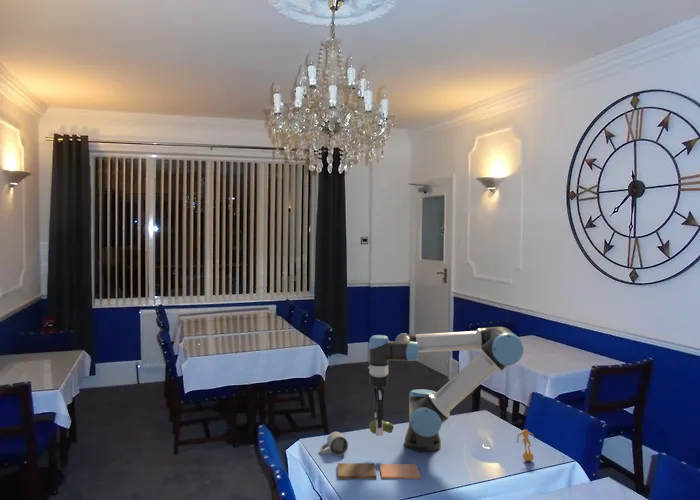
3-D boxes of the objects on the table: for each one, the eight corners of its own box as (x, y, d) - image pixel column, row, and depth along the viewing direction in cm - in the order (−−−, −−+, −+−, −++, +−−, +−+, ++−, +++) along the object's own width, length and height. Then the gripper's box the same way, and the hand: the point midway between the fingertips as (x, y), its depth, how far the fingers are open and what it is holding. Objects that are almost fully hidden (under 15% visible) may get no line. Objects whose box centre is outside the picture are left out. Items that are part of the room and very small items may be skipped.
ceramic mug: (343, 446, 217) (343, 428, 216) (348, 454, 209) (348, 436, 209) (318, 449, 214) (318, 431, 214) (322, 458, 206) (322, 439, 206)
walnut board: (374, 466, 199) (374, 463, 199) (376, 478, 189) (376, 475, 189) (337, 466, 199) (337, 463, 199) (337, 478, 189) (338, 475, 189)
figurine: (520, 464, 202) (521, 434, 202) (513, 457, 208) (514, 428, 208) (540, 462, 204) (541, 432, 203) (532, 456, 210) (533, 426, 209)
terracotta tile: (415, 466, 200) (415, 464, 199) (420, 478, 190) (420, 476, 190) (379, 466, 199) (379, 464, 199) (381, 478, 189) (381, 476, 189)
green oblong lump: (368, 417, 209) (390, 418, 212) (366, 430, 209) (388, 431, 212) (373, 422, 204) (396, 423, 207) (371, 435, 204) (394, 436, 207)
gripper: (367, 368, 216) (367, 423, 217) (371, 381, 197) (371, 441, 198) (385, 368, 216) (385, 422, 217) (390, 381, 197) (390, 441, 198)
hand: (378, 431), depth 208 cm, fingers closed on green oblong lump, 6 cm apart
